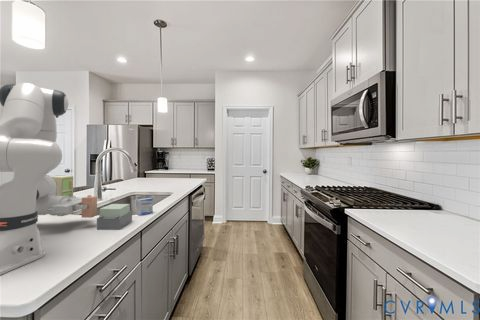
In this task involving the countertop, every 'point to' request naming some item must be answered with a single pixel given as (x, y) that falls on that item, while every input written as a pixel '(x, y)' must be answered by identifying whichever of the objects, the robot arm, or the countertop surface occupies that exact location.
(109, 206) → the green-topped grey pedestal
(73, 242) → the countertop surface
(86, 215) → the orange knobbed block
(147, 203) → the medicine box
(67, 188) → the toy refrigerator
